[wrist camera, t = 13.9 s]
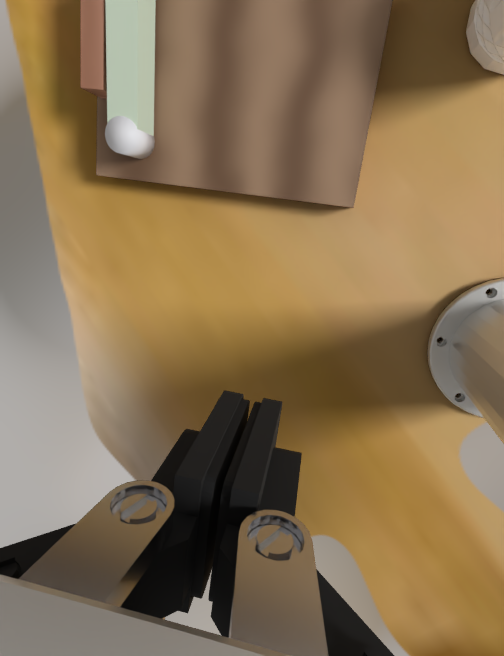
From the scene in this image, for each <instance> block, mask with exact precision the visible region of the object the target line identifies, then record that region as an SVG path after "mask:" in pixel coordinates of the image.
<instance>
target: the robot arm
mask: <svg viewBox="0 0 504 656" xmlns="http://www.w3.org/2000/svg"><path fill="white" fill-rule="evenodd" d="M487 289H490V293H488V294H486V291H487ZM439 337H442V339H441V341H437V339H438V338H439ZM427 355H428V364H429V368H430V371H431V374H432V377H433V379H434V380H435V382H436V384H437V386H438V387H439V389H440V390H441V391H442V393H443V394H444V395H445V397H446V398H448V399H449V400H450V401H451V402H452V403H453V404H454V405H456V406H457V407H459V408H461V409H463V410H464V411H466V412H468V413H471V414H473V415H476V416H479V417H483V418H485V420H486V421H487V422H488V424H489V425H490V426H491V428H492V429H493V430H494V431H495V433H496V434H497V435H498V437H499V438H500V440H501V441H502V442H503V443H504V278H501V279H496V280H491V281H487V282H485V283H482V284H480V285H477V286H474V287H472V288H471V289H469V290H467V291H466V292H464V293H462V294H461V295H459V296H458V297H457V298H456V299H455V300H453V301H452V302H451V303H450V304H449V305H448V306H447V307H446V308H445V310H444V311H443V312H442V313H441V314H440V316H439V317H438V319H437V321H436V323H435V325H434V326H433V328H432V332H431V335H430V338H429V342H428V351H427ZM458 393H460V394H459V395H457V396H455V395H456V394H458ZM243 397H244V396H243V394H240V393H235V392H230V391H225V390H224V392H223V393H222V395H221V397H220V398H219V400H218V402H217V404H216V405H215V407H214V409H213V410H212V412H211V414H210V416H209V417H208V419H207V421H206V422H205V424H204V426H203V428H202V429H201V431H200V432H199V431H195V430H190V429H186V430H185V431H184V432H183V433H182V435H181V436H180V438H179V439H178V441H177V442H176V444H175V445H174V447H173V448H172V450H171V451H170V453H169V454H168V456H167V457H166V459H165V461H164V462H163V464H162V465H161V467H160V468H159V470H158V471H157V473H156V474H155V476H154V477H153V479H152V480H151V481H144V480H137V481H132V482H127V483H125V484H122V485H120V486H118V487H116V488H115V489H113V490H112V491H110V492H109V493H108V494H107V495H106V496H105V497H104V498H103V499H102V500H101V501H100V502H99V503H98V504H97V505H95V506H94V507H93V509H91V510H90V511H89V512H88V513H87V514H86V515H85V516H84V517H83V518H82V519H81V520H80V521H79V522H78V523H77V524H73V525H70V526H67V527H64V528H61V529H58V530H55V531H52V532H49V533H46V534H43V535H40V536H37V537H33V538H31V539H27V540H24V541H21V542H18V543H15V544H12V545H9V546H6V547H3V548H0V656H394V655H393V654H392V653H391V652H390V650H389V649H388V648H387V647H386V646H385V645H384V644H383V643H382V642H381V640H380V639H379V638H378V637H377V636H376V635H375V634H374V633H373V632H372V630H371V629H370V628H369V627H368V626H367V625H366V624H365V623H364V622H363V620H362V619H361V618H360V617H359V616H358V615H357V614H356V613H355V612H354V611H353V610H352V608H351V607H350V606H349V605H348V604H347V603H346V602H345V601H344V599H343V598H342V597H341V596H340V595H339V594H338V593H337V592H336V590H335V589H334V588H333V587H332V586H331V585H330V584H329V583H328V582H327V580H326V579H325V578H324V577H323V576H322V575H321V574H320V573H319V572H318V570H317V569H316V564H315V557H314V550H313V543H312V539H311V536H310V533H309V531H308V529H307V528H306V527H305V525H304V524H303V523H302V522H301V521H299V520H298V519H297V518H296V517H295V508H296V499H297V490H298V481H299V472H300V464H301V453H299V452H294V451H289V450H285V449H280V448H275V445H276V439H277V433H278V427H279V421H280V414H281V408H282V402H281V401H276V400H271V399H266V398H263V400H262V403H260V402H255V403H254V406H253V408H252V411H251V413H250V416H249V418H248V412H249V404H250V401H249V400H244V399H243ZM247 419H248V421H247ZM211 570H212V574H211V582H210V590H209V601H212V602H213V604H212V612H211V618H212V619H213V621H214V623H215V625H216V626H217V628H218V630H219V632H220V633H221V635H222V636H220V635H217V634H213V633H209V632H206V631H203V630H199V629H196V628H192V627H188V626H185V625H181V624H178V623H174V622H171V621H167V620H165V617H166V616H168V615H170V614H172V613H174V612H176V611H181V612H185V613H188V611H189V608H190V606H191V603H192V600H193V597H197V598H202V596H203V593H204V591H205V588H206V585H207V581H208V579H209V576H210V573H211Z"/></svg>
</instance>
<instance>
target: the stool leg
mask: <svg viewBox="0 0 504 656" xmlns="http://www.w3.org/2000/svg"><path fill="white" fill-rule="evenodd" d="M105 3H106V67H107V126H106V129H105V138H106V142H107V144H108V146H109V147H110V148H111V149H112V150H113V151H115V152H117V153H120V154H123V155H127V156H131V157H134V158H138V159H144V158H146V157H148V156H149V155H150V154H151V153H152V151H153V149H154V146H155V140H154V78H155V7H156V0H105Z"/></svg>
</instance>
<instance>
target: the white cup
mask: <svg viewBox="0 0 504 656" xmlns="http://www.w3.org/2000/svg"><path fill="white" fill-rule="evenodd" d="M466 35H467V40H468V44H469V49H470V53H471V55H472V56H473V57H474V58H475V59H476V60H477V61H478V62H479V64H480V65H481V66H482V67H483V68H484V69H486V70H490V71H493V72H496V73H500V74H503V75H504V0H475V1H474V3H473V5H472V7H471V10H470V14H469V19H468V24H467V29H466Z"/></svg>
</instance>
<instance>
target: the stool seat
mask: <svg viewBox="0 0 504 656" xmlns="http://www.w3.org/2000/svg"><path fill="white" fill-rule="evenodd" d="M392 1H393V0H156V7H155V78H154V140H155V146H154V149H153V151H152V153H151V154H150V155H149V156H148V157H146V158H144V159H138V158H134V157H131V156H127V155H123V154H120V153H117V152H115V151H113V150H112V149H111V148H110V147H109V146H108V144H107V142H106V138H105V129H106V126H107V67H106V3H105V0H81V88H82V89H84V90H86V91H88V92H90V93H92V94H94V95H96V96H97V165H96V175H99V176H106V177H112V178H120V179H128V180H136V181H144V182H152V183H160V184H167V185H175V186H183V187H191V188H199V189H207V190H215V191H223V192H231V193H239V194H246V195H254V196H262V197H270V198H278V199H286V200H294V201H302V202H310V203H317V204H325V205H333V206H341V207H349V208H354V203H355V197H356V192H357V187H358V181H359V176H360V171H361V165H362V160H363V155H364V150H365V144H366V139H367V134H368V128H369V123H370V118H371V112H372V107H373V102H374V96H375V91H376V86H377V81H378V75H379V70H380V65H381V59H382V54H383V49H384V43H385V38H386V33H387V28H388V22H389V17H390V12H391V6H392Z"/></svg>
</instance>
